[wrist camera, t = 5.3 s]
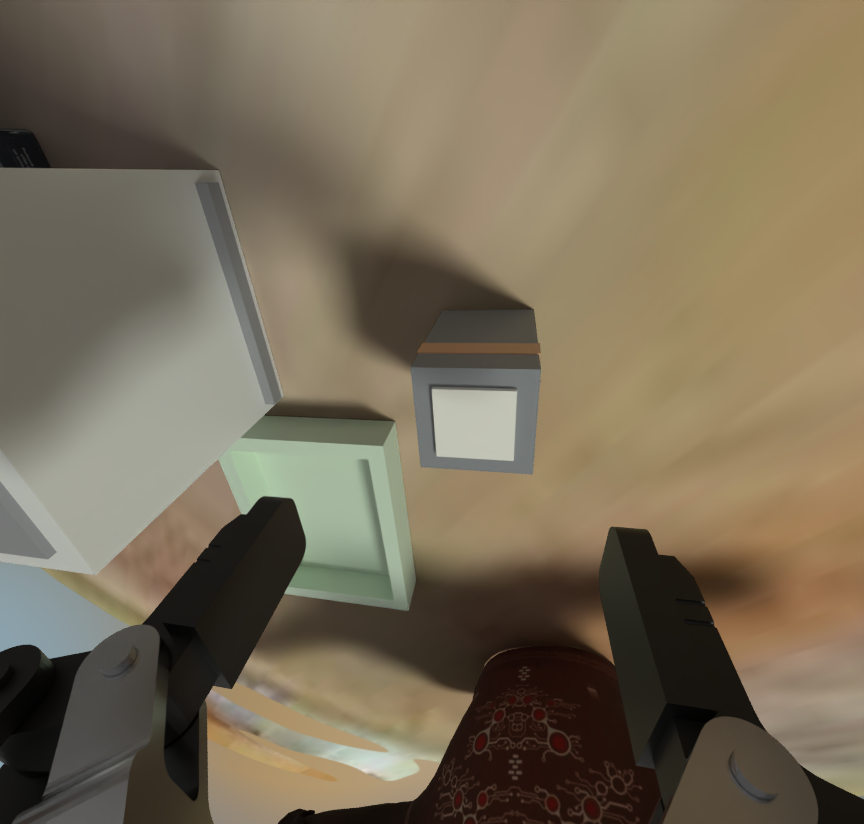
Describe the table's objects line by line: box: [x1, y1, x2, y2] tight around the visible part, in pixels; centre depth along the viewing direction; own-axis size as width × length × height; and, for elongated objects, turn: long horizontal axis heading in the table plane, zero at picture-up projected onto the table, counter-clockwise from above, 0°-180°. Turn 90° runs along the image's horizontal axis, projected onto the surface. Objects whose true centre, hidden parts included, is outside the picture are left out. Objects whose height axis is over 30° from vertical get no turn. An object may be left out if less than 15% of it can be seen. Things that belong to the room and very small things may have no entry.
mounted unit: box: [0, 168, 284, 575], centre depth 16 cm, size 6×12×13 cm, turn 4°
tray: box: [218, 416, 416, 611], centre depth 28 cm, size 11×15×3 cm
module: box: [411, 309, 541, 474], centre depth 18 cm, size 5×5×7 cm
